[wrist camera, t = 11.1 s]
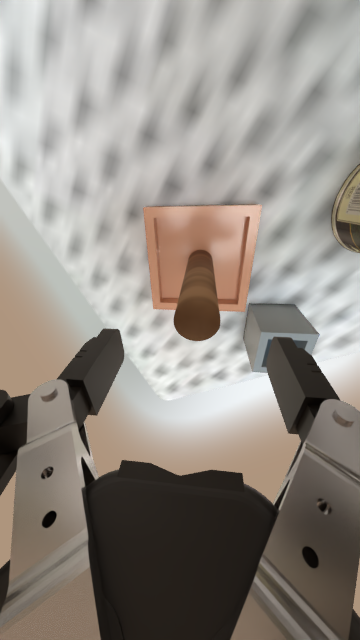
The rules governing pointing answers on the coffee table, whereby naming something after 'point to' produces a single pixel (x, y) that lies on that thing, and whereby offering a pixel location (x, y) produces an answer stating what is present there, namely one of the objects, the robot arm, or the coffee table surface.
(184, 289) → the dowel
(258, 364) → the holder
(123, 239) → the coffee table surface
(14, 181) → the coffee table surface
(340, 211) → the coffee can
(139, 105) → the coffee table surface
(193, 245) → the tray
